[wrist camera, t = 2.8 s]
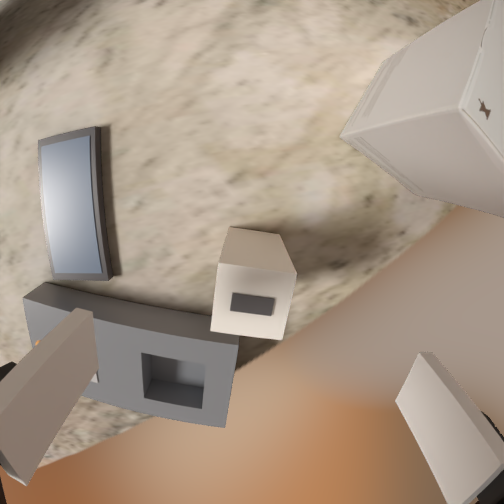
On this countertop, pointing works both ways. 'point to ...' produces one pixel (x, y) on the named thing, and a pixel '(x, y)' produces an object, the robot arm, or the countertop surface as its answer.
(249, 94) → the countertop surface
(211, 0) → the countertop surface
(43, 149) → the phone
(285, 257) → the block
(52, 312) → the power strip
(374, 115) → the supplement box
